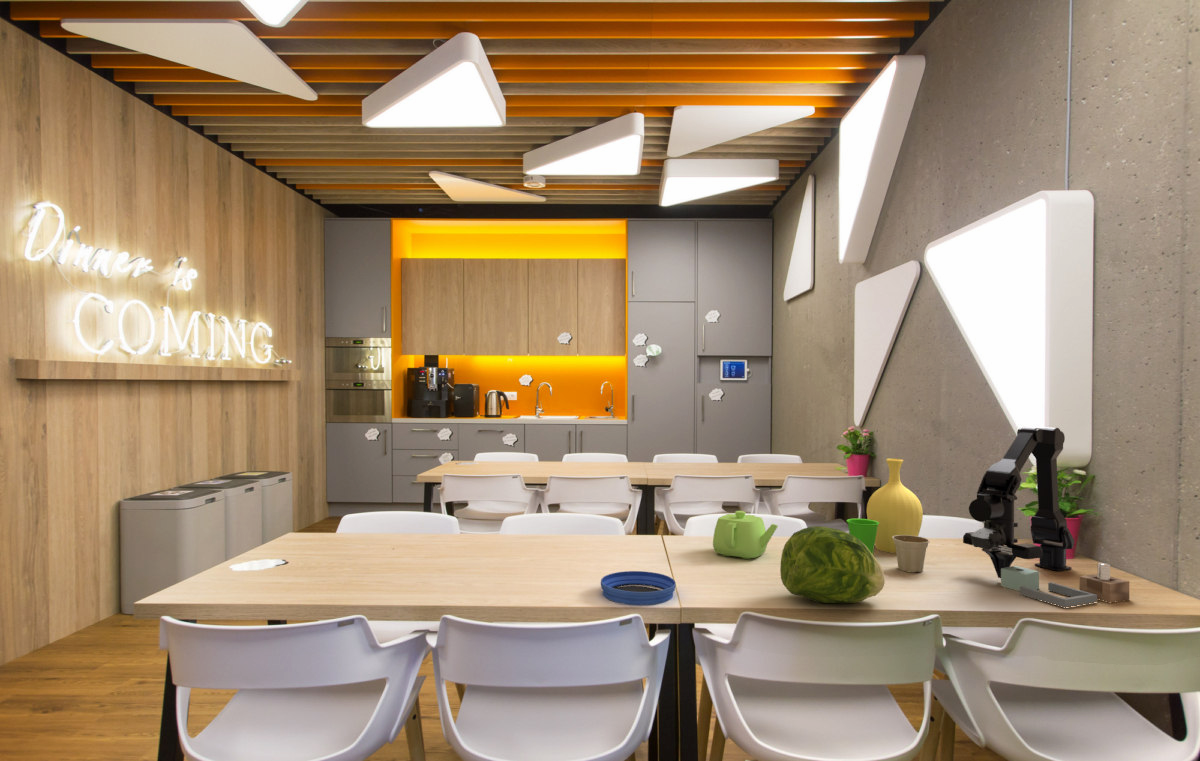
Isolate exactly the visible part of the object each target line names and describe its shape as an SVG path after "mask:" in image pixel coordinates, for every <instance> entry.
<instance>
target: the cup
mask: <svg viewBox="0 0 1200 761" xmlns="http://www.w3.org/2000/svg"><path fill="white" fill-rule="evenodd" d="M845 522H846V523H847V527H848V533H849V534H851V535H853V536H854V537H856V538H857V539H859V540H860V541H861V542H862V543H863V544H865V545H866V546H867V548H868V549H869V551H870V552H871V554H872V555H873V556H874V550H875V546H876V545H875V539H876V533H877V528H878V524H879V522H878V521H874V520H869V519H866V518H849V519H846V521H845Z"/></svg>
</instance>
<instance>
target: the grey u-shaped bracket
mask: <svg viewBox="0 0 1200 761" xmlns="http://www.w3.org/2000/svg"><path fill="white" fill-rule="evenodd" d="M1047 584H1048V586H1047V588H1048V589H1047V591H1048V590H1050V591H1049V592H1052V591H1053V593H1055V592H1057V593H1056V594H1058V593H1060V594H1059V595H1062V594H1064V595H1063V596H1065V595H1067V596H1066V597H1060V596H1057V595H1054V594H1050V593H1047V592H1044V591H1040V590H1034V589H1031V588H1027V587H1024V586H1021V587H1020V591H1019V595H1020V594H1021V595H1020V596H1022V595H1024V596H1023V597H1025V596H1027V597H1026V598H1029V597H1031V598H1030V599H1032V598H1034V599H1033V600H1035V599H1039V600H1042V601H1046V602H1049V603H1052V604H1056V605H1059V606H1062V607H1065V608H1066V607H1071V606H1077V605H1083V604H1089V603H1094V602H1097V603H1098V600H1097V595H1096V594H1092V593H1088V592H1085V591H1081V590H1080V589H1077V588H1074V587H1070V586H1066V585H1063V584H1059V583H1056V582H1051V581H1050V582H1048V583H1047ZM1069 596H1071V597H1069ZM1042 601H1041V602H1042Z"/></svg>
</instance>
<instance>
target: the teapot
mask: <svg viewBox="0 0 1200 761" xmlns="http://www.w3.org/2000/svg"><path fill="white" fill-rule="evenodd" d="M746 513H747V512H746V511H744V510H736V511H734V513H728V514H724V515H722V516H720V517H718V518H717V521H716V524H715V527H714V531H713V540H712V547H713V550H714V552H715V553H716V554H721V555H722V556H723V557H737V558H738V557H739V558H741V559H743V560H751V559H754V558H758V557H760V556H761V555H763V554H764V553H765V552H766V550H767V547H768V544H769V542H770V540H771V539H772V537H773V535H774V533H775V532H776V530H777V529H778V527H779V525H777V524H774V523H771V524H770V526H769V527H768V528H767V529H766V526H765V523H764V520H763V518H762V517H760V516H755V514H747V515H746Z"/></svg>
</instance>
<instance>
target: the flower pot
mask: <svg viewBox="0 0 1200 761" xmlns="http://www.w3.org/2000/svg"><path fill="white" fill-rule="evenodd" d="M892 539H893V540H894V544H895V547H896V553H895V554H896V562H897V568H898V570H901V571H903V572H908V573H916V572H917V573H921V572H923V571H924V564H925V558H926V554H927V553H926V552H927V548H928V546H929V543H930V539H928V538H926V537H922V536H919V535H918V536H911V535H896V536H893V537H892Z"/></svg>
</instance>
